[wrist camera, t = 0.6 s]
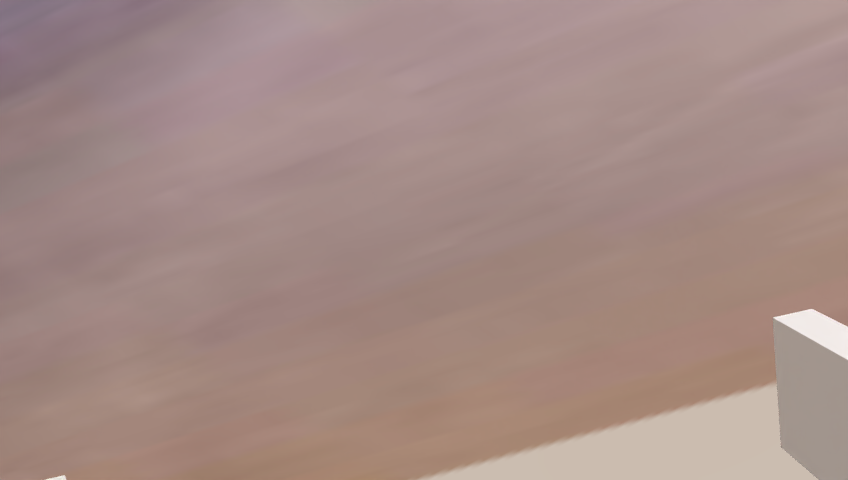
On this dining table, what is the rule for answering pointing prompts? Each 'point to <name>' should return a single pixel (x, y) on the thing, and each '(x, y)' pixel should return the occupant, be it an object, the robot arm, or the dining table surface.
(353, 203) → the dining table surface
